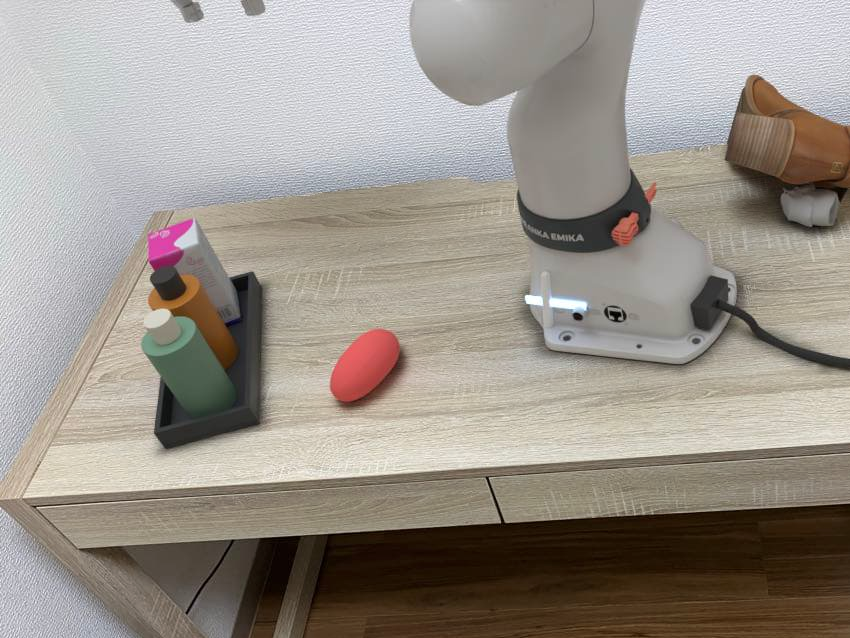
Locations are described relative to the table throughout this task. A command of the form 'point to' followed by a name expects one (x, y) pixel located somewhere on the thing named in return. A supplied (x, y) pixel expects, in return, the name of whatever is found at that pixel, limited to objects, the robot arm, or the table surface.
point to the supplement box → (196, 264)
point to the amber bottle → (193, 310)
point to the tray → (242, 373)
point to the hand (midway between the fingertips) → (225, 17)
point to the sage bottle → (187, 364)
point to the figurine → (810, 205)
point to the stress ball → (364, 364)
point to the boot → (787, 139)
